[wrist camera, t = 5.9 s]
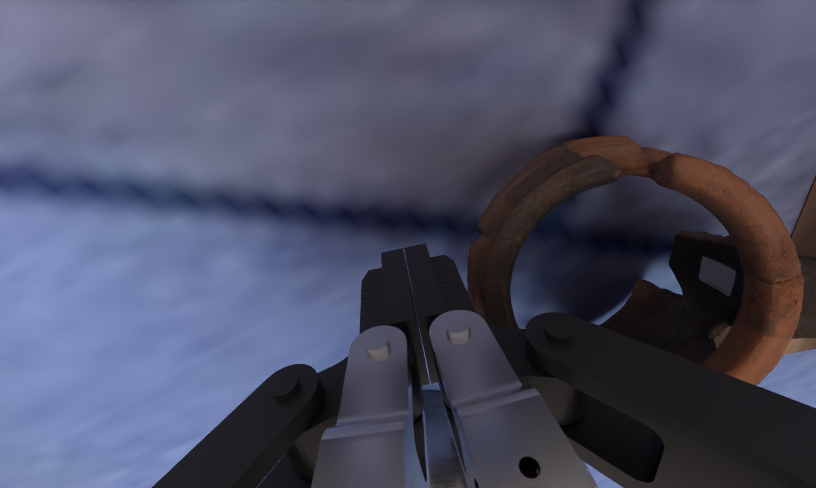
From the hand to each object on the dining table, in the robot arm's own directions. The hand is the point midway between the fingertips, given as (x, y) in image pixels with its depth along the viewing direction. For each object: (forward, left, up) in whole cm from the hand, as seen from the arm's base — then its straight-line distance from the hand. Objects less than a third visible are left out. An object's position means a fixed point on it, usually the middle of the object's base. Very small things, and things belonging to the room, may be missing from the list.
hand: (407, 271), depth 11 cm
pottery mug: (-8, +2, -3) cm, 8 cm away
